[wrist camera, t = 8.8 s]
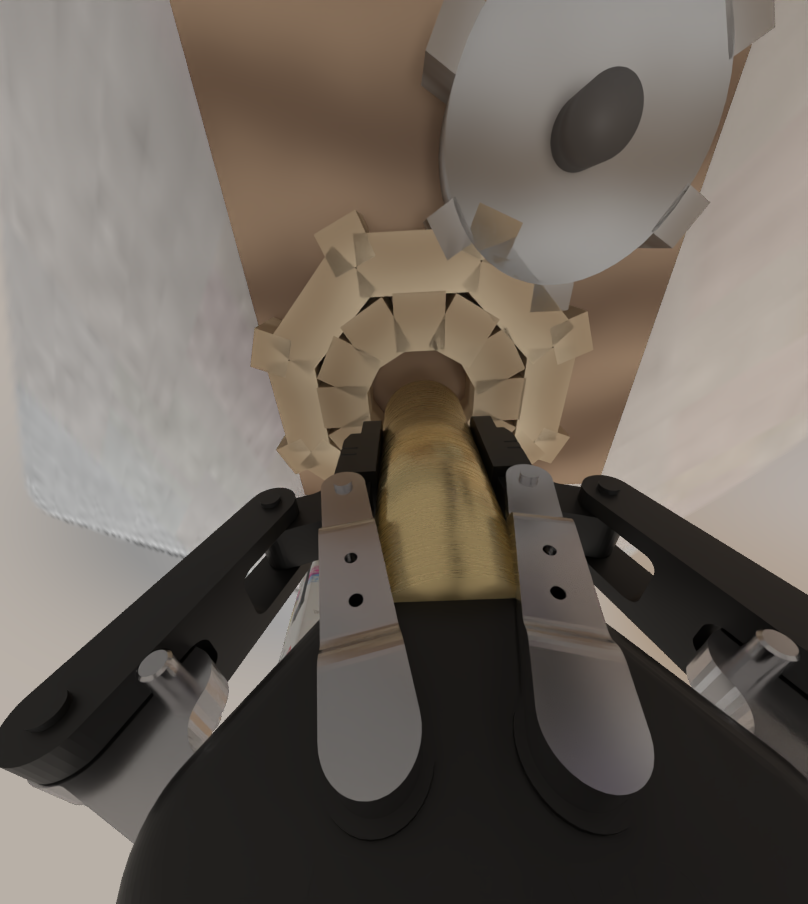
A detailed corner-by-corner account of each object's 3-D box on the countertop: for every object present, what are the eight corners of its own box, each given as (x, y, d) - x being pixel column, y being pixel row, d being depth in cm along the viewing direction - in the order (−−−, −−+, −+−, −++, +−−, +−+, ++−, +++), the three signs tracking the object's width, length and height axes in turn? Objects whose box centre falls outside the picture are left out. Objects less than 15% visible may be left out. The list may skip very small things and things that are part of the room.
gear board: (170, -54, 11) (8, -264, 6) (774, -98, 11) (1051, -353, 6) (310, 487, 23) (288, 544, 19) (588, 476, 23) (633, 531, 19)
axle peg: (381, 381, 14) (351, 582, 6) (464, 377, 14) (560, 574, 6) (387, 451, 16) (372, 679, 8) (460, 448, 16) (527, 674, 7)
